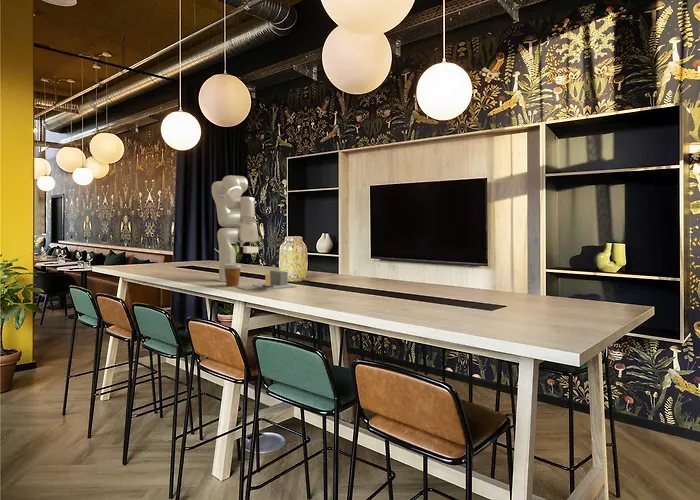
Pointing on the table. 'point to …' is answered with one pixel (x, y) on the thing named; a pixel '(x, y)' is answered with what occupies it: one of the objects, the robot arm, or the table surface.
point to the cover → (248, 249)
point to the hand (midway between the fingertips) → (247, 253)
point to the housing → (276, 281)
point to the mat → (247, 287)
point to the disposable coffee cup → (232, 274)
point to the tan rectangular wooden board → (267, 278)
